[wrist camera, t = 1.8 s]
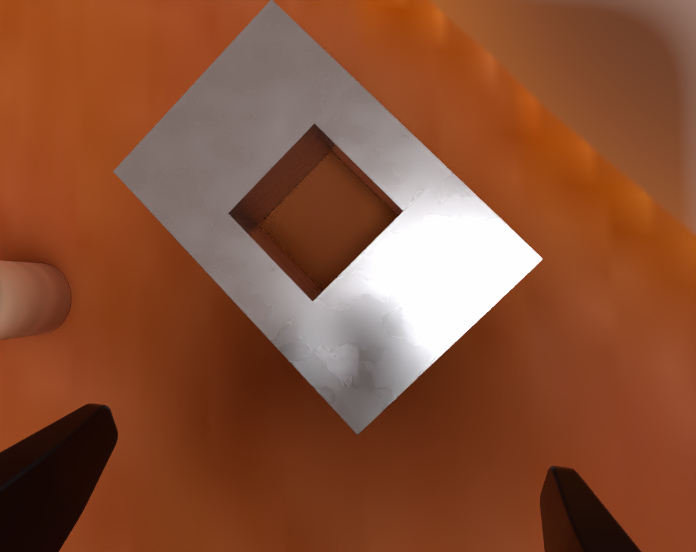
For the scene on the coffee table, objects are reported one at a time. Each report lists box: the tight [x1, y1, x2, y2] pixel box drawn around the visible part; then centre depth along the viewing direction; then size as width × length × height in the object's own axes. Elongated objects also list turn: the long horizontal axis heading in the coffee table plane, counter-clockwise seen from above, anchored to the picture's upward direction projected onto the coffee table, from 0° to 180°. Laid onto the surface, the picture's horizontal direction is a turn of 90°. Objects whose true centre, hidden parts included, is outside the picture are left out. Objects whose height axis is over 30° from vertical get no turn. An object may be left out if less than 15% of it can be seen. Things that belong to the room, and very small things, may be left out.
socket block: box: [113, 0, 542, 435], centre depth 22 cm, size 10×16×4 cm, turn 45°
